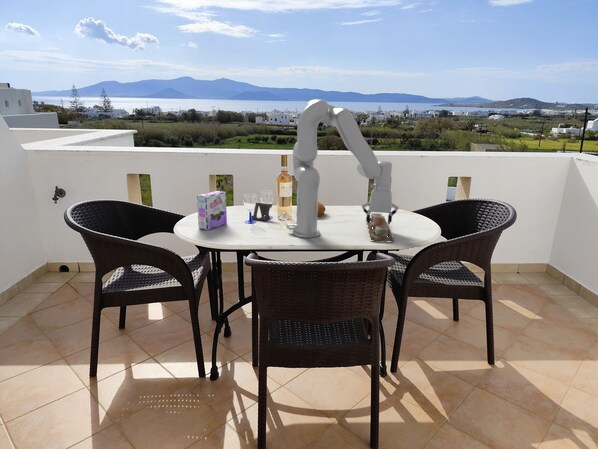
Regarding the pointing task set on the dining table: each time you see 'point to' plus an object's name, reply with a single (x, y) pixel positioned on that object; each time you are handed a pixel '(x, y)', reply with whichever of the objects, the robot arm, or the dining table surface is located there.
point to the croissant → (320, 210)
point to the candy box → (212, 210)
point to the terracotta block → (378, 221)
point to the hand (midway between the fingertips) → (378, 223)
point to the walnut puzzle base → (379, 230)
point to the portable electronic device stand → (262, 211)
